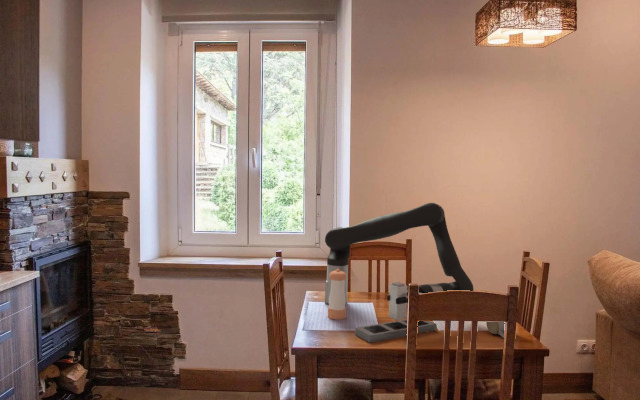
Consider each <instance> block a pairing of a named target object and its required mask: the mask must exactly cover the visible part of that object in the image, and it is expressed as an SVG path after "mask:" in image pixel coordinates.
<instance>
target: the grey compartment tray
mask: <svg viewBox="0 0 640 400" xmlns="http://www.w3.org/2000/svg"><path fill="white" fill-rule="evenodd" d="M407 319H408V318H407ZM407 319H402V320H395V321H390V322H384V323H383V322H382V323H377V324H371V325H370V324H369V325H365V326H359V327H355V331H354V336H356V337H358V338H360V339H362V340H363V341H366V342H368V343H369V344H371V343H377V342H382V341H387V340H392V339H393V340H394V339H399V338H403V337H407V336H406V334H407ZM437 327H438V326H437V323H435V322H433V321H430V320H428V321H419V322H418V333H421V334H423V333H422V332H426V333H428V332H427V331H431V332H434V331H433V330H436V331H437Z"/></svg>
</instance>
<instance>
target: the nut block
mask: <svg viewBox="0 0 640 400" xmlns="http://www.w3.org/2000/svg"><path fill="white" fill-rule="evenodd" d="M388 291H389V293H388V295H389V301H388V318H390V319H392V320H395V321H400V320H406V319H408V318H407V312H408V311H407V310H408V308H407V307H408V304H405V303H404V304H396V298H400V297H406V296H407V291H408V285H406V284H405V283H403V282H401V281H397V282H391V283H390V284H389V290H388Z"/></svg>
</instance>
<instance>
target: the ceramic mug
mask: <svg viewBox="0 0 640 400" xmlns="http://www.w3.org/2000/svg"><path fill="white" fill-rule="evenodd" d="M504 324H505V323H504V322H487V321H486V328H487V330H488V332H489V333H490V332H491V333H493V334H498V335H497V336H501V338H502V339H505V338H504ZM491 333H490V334H491ZM493 334H492V335H493Z"/></svg>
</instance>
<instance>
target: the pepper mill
mask: <svg viewBox="0 0 640 400" xmlns="http://www.w3.org/2000/svg"><path fill="white" fill-rule="evenodd" d="M329 278H330V279H331V291H330V296H329V304H328V307H327V318H329V319H332V320H344V319H346V318H347V307H346V304H345V301H346V300H345V292H344V285H345V279H346V278H347V275H346V273H345V272H343V271H340V269H336V271H332V272H331V273H330V274H329Z"/></svg>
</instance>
